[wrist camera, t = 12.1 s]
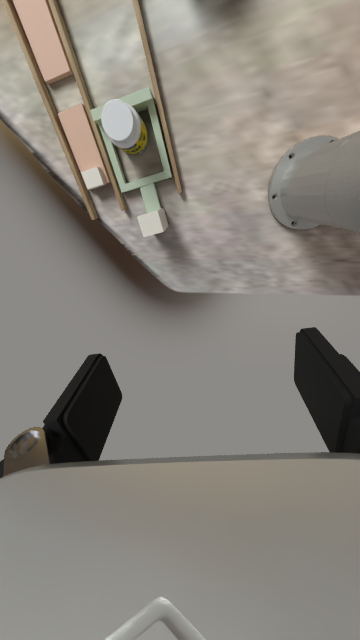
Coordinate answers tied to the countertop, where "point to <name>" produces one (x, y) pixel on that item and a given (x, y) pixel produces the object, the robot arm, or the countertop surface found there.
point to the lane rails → (85, 99)
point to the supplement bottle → (124, 127)
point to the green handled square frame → (155, 215)
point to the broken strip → (54, 68)
